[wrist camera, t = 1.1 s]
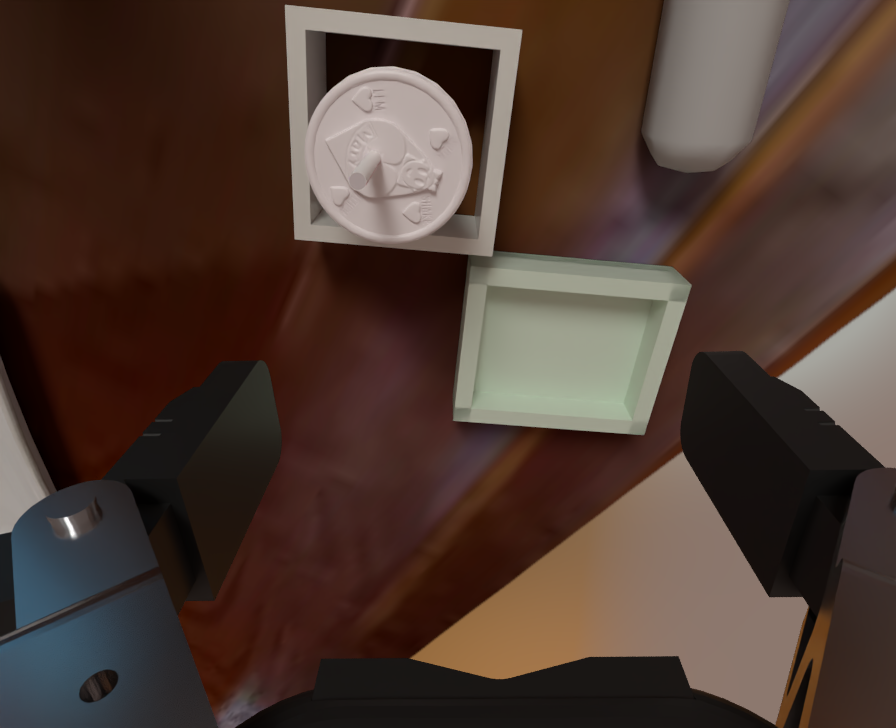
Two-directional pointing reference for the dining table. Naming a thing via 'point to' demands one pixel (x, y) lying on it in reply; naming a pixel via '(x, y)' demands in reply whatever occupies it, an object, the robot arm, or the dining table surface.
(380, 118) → the smoothie
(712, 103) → the tube
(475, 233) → the hollow square frame
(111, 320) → the dining table surface
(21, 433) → the square plate
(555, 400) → the tray
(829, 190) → the dining table surface
